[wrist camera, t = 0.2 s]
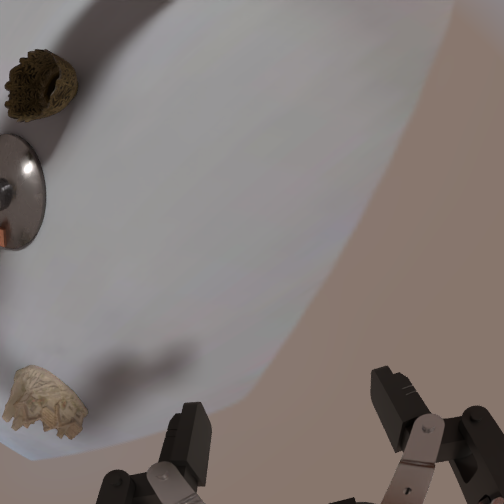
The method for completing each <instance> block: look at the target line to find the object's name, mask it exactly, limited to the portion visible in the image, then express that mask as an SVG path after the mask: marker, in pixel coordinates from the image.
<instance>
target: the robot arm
mask: <svg viewBox="0 0 504 504" xmlns="http://www.w3.org/2000/svg"><path fill="white" fill-rule="evenodd" d="M371 400H372V403H373V405H374V408H375V410H376V412H377V414H378V416H379V418H380V420H381V423H382V425H383V427H384V429H385V431H386V433H387V436H388V438H389V440H390V442H391V445H392V447H393V449H394V451H395V453H397V452H399V451H403V456H402V459H401V460H400V462H399V464H398V467H397V469H396V471H395V474H394V476H393V478H392V481H391V483H390V485H389V487H388V489H387V492H386V493H385V496H384V498H383V500H382V502H381V504H423V501H424V499H425V496H426V493H427V491H428V488H429V485H430V482H431V479H432V476H433V473H434V470H435V463H437V462H443V461H449V463H450V465H451V467H452V469H453V471H454V474H455V476H456V478H457V480H458V483H459V485H460V487H461V490H462V492H463V494H464V497H465V499H466V502H467V504H504V434H503V432H502V431H501V429H500V428H499V426H498V425H497V423H496V422H495V420H494V419H493V417H492V416H491V415H490V413H489V412H488V410H487V409H486V408H484V407H482V406H471V407H469V408H467V409H466V410H465V411H464V413H463V415H462V416H460V417H454V418H448V419H442V418H441V417H440V416H438V415H436V414H432V413H431V412H430V411H429V409H428V408H427V406H426V405H425V403H424V402H423V400H422V398H421V397H420V395H419V394H418V392H416V389H415V388H414V386H412V383H411V382H410V381H409V379H408V377H406V376H404V375H403V374H401V373H400V372H399V373H396V374H393V373H392V371H391V370H390V368H389V367H388V366H384V367H381V368H377V369H374V370H372V372H371ZM167 430H168V431H167V432H166V438H165V440H164V443H163V447H162V451H161V454H160V458H159V461H158V463H155V464H154V465H152V466H151V467H150V468H149V469H148V471H147V472H145V473H140V474H135V475H129V474H128V473H126V472H125V471H123V470H113V471H110V472H109V473H108V474H106V476H105V477H104V479H103V482H102V485H101V488H100V492H99V495H98V498H97V502H96V504H205V503H204V502H203V501H202V499H201V498H200V497H199V496H198V495H197V493H196V492H197V486H205V484H206V475H207V468H208V459H209V451H210V443H211V435H212V428H211V423H210V421H209V418H208V416H207V414H206V412H205V410H204V407H203V405H202V403H201V402H190V403H184V405H183V409H182V413H177V414H175V415H174V416H173V418H172V419H171V420H170V422H169V425H168V429H167ZM329 504H374V503H368V502H355V498H354V497H353V498H349V499H346V500H342V501H337V502H334V503H329Z"/></svg>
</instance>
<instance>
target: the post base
mask: <svg viewBox="0 0 504 504" xmlns="http://www.w3.org/2000/svg"><path fill="white" fill-rule="evenodd" d="M45 207H46V186H45V180H44V175H43V171H42V167H41V164H40V162H39V159H38V157H37V155H36V153H35V152H34V150H33V149H32V147H31V146H30V145H29V144H28V143H27V142H26V141H25V140H24V139H23V138H21V137H19V136H17V135H14V134H3V135H0V246H2V247H5V248H10V249H15V248H19V247H22V246H23V245H25V244H27V243H28V242H29V241H31V240H32V239H33V238H34V237H35V235H36V234H37V232H38V231H39V229H40V227H41V224H42V221H43V218H44V213H45Z"/></svg>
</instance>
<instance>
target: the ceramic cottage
mask: <svg viewBox="0 0 504 504" xmlns="http://www.w3.org/2000/svg"><path fill="white" fill-rule="evenodd" d="M87 414H88V410H87V409H86V407H84V404H83V403H82V402H81V400H80V399H79V397H78V396H77V395H76V394H75V392H74V391H72V390H71V389H70V388H69V387H68V386H67V385H65V384H63V382H62V381H61V380H60V379H59V378H57V377H56V376H54V375H53V374H52V373H51V372H49V371H47V370H46V369H43V368H41V367H38V366H35V365H29V366H27V367H25V368H22V369H19V370H17V372H16V374H15V377H14V385H13V387H12V389H11V395H10V398H9V401H8V402H7V404H6V405H5V410H4V413H3V416H2V418H3V419H4V420H5V421H6V422H9V421H10V420H11V418H12V417H14V418H15V419H14V420H13V424H12V427H11V428H12V429H14V430H15V431H17V430H18V429H19V428H20V427H22V425H23V426H24V427H26V428H28V427H29V425H30V424H34V422H35V421H37V420H41V421H42V422H43V427H44V428H43V430H44V431H45V432H46V431H48V430H50V429H54V428H56V429H57V430H58V433H57V436H59V437H60V438H61V439H62V437H63V435H64V434H65V435H66V436H67V437H68V438H69V439H71V440H72V439H73V438H75V436H76V435H78V434H79V433H80V432H81V431H82V429H83V428H82V423H83V418H84V417H86V415H87Z"/></svg>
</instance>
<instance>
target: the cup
mask: <svg viewBox="0 0 504 504" xmlns="http://www.w3.org/2000/svg"><path fill="white" fill-rule="evenodd" d="M19 62H21V63H20V64H19V65H18V66H15V67H14V68H13V69H11V70H10V73H9V81H8V82H7V83H6V84H5V89H6V90H7V89H8V90H7V91H10V93H9V95H8V97H9V101H6V102H5V107H6V108H9V109H8V116H9V117H11V118H13V119H18V120H17V122H23V121H25V122H30V121H32V120H36V119H41V118H45V117H48V116H51V115H54V114H56V113H58V112H60V111H61V110H62V109H64V108H65V107H66V106H67V105H68V104H69V102H70V101H71V100H72V99H73V98H74V97H75V96H76V94H77V91H78V81H77V76H76V72H75V70H74V68H73V67H72V65H71V64H70V63H68V62H67V61H66V60H64V59H63V58H61V57H59V56H57V55H56V54H54V53H52V52H50V51H48V50H46V49H44V50H39V49H35V51H30V52H28V58H20V61H19Z"/></svg>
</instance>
